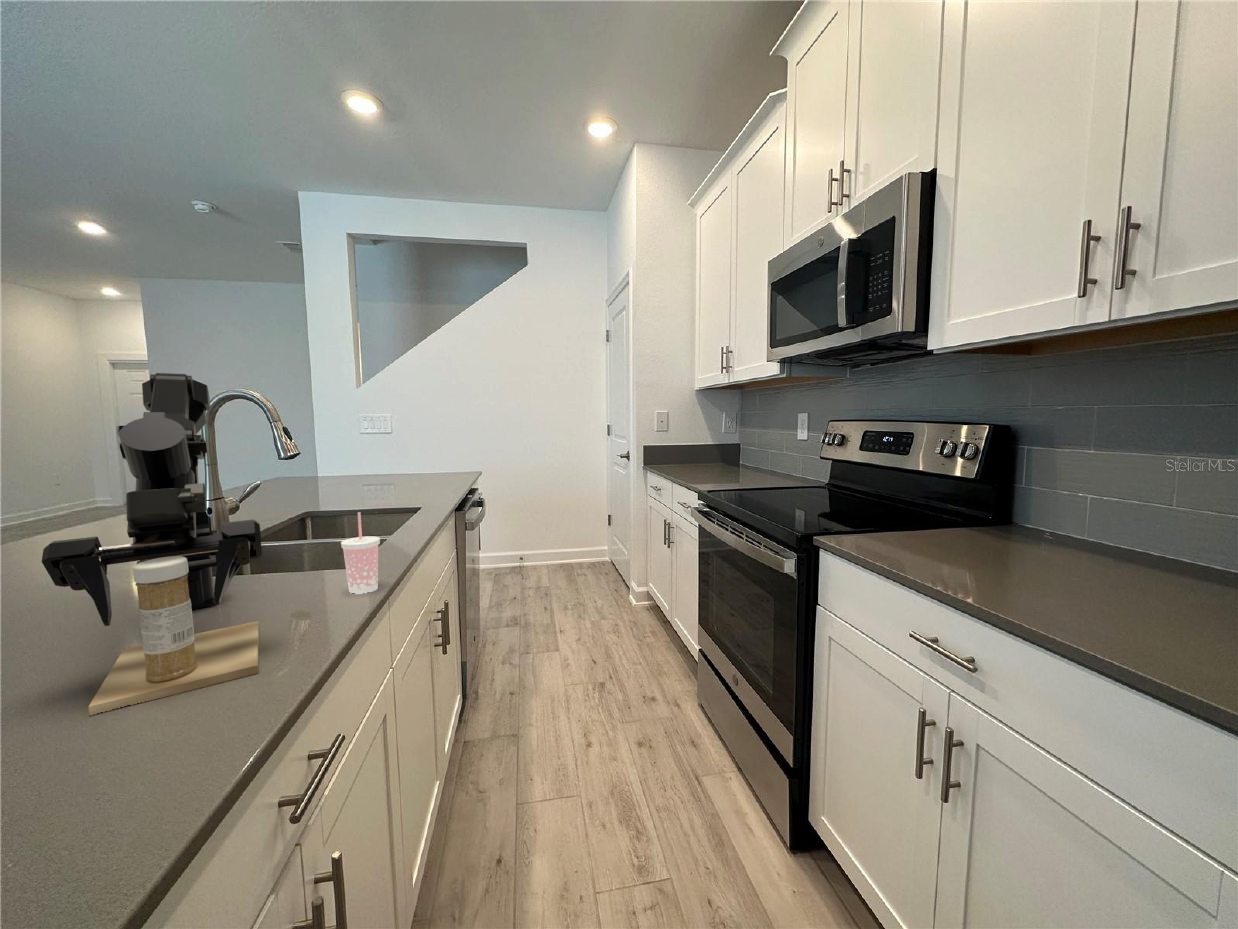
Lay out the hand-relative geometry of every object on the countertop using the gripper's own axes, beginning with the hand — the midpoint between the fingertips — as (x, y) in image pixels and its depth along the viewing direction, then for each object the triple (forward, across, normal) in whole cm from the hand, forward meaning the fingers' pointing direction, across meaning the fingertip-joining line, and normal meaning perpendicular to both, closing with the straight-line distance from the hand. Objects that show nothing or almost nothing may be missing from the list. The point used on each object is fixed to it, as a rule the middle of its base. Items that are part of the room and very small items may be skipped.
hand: (164, 613), depth 55 cm
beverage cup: (-9, +24, +21) cm, 33 cm away
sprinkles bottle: (+5, 0, +6) cm, 8 cm away
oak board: (+2, +1, +10) cm, 10 cm away
